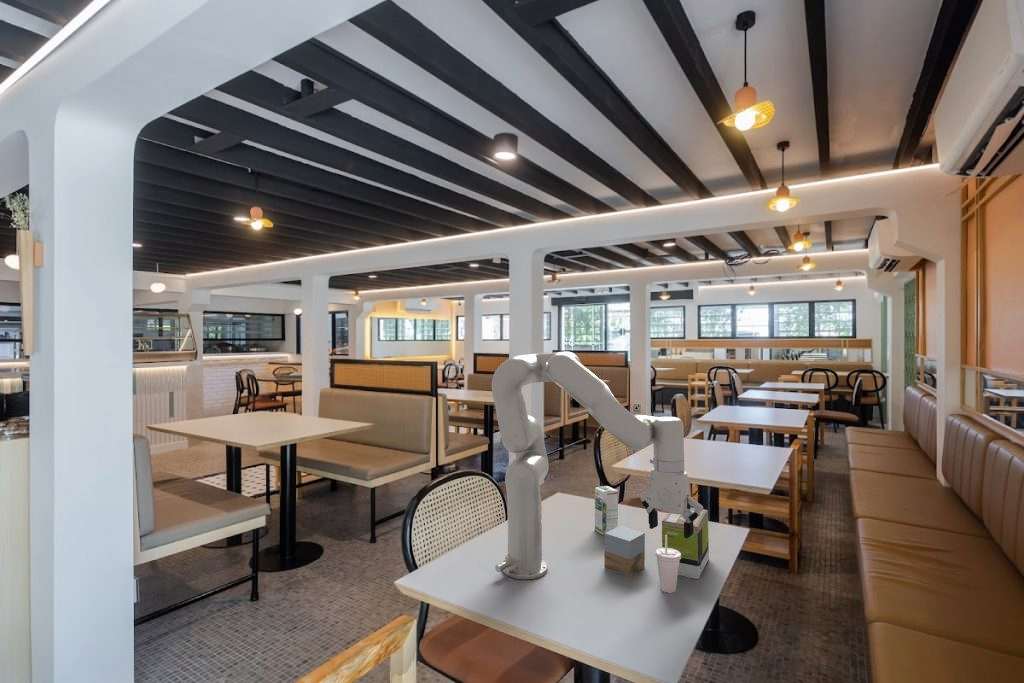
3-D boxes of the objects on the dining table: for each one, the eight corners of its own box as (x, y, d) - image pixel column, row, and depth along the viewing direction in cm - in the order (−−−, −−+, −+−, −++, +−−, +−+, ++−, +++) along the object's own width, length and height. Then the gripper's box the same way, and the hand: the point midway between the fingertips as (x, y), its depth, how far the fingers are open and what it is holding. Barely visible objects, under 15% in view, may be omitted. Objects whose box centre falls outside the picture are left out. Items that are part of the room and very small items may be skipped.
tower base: (629, 577, 141) (629, 559, 141) (604, 568, 147) (604, 550, 147) (644, 568, 147) (644, 550, 147) (620, 559, 153) (620, 542, 153)
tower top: (629, 559, 141) (629, 541, 141) (604, 550, 147) (604, 533, 147) (644, 550, 147) (644, 532, 147) (620, 542, 153) (620, 525, 152)
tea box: (674, 552, 157) (674, 503, 157) (709, 559, 152) (709, 509, 152) (661, 572, 144) (661, 519, 144) (699, 580, 139) (699, 525, 139)
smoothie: (661, 581, 139) (661, 529, 139) (685, 588, 135) (685, 534, 134) (651, 590, 134) (651, 536, 134) (675, 598, 130) (675, 542, 130)
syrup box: (593, 530, 175) (593, 487, 174) (608, 527, 177) (608, 485, 177) (603, 536, 169) (603, 492, 169) (618, 533, 172) (618, 489, 172)
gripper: (631, 463, 137) (633, 527, 137) (694, 474, 125) (695, 545, 125) (646, 458, 142) (648, 520, 143) (708, 468, 130) (709, 536, 130)
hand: (670, 531), depth 134 cm, fingers open, 9 cm apart
